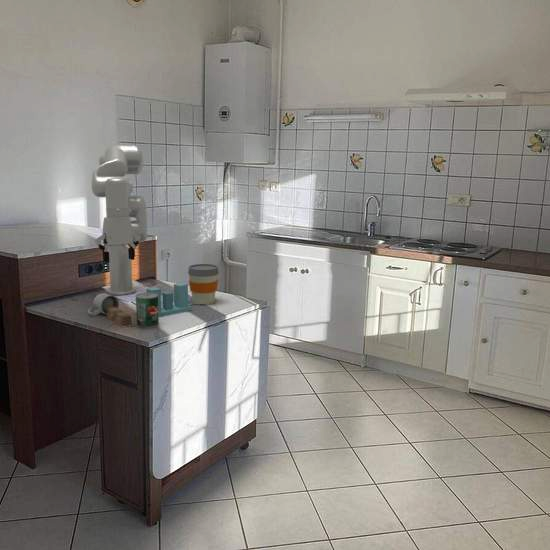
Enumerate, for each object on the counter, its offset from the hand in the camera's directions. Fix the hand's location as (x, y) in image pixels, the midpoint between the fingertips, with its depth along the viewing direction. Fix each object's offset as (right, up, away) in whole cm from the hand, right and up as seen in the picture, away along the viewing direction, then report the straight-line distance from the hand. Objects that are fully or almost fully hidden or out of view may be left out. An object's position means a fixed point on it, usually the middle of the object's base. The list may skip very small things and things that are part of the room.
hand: (119, 260), depth 202 cm
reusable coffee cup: (+26, -17, +33) cm, 46 cm away
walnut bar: (-1, -23, +5) cm, 23 cm away
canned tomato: (+10, -23, +2) cm, 25 cm away
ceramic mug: (-10, -20, +14) cm, 27 cm away
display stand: (+14, -20, +17) cm, 30 cm away
